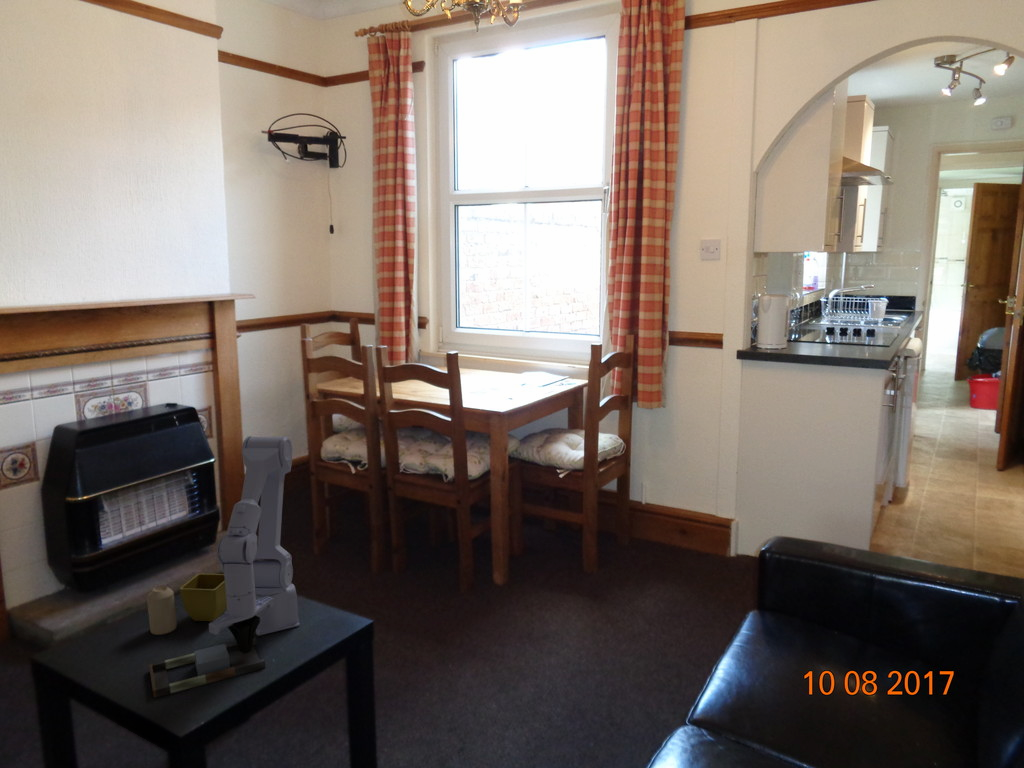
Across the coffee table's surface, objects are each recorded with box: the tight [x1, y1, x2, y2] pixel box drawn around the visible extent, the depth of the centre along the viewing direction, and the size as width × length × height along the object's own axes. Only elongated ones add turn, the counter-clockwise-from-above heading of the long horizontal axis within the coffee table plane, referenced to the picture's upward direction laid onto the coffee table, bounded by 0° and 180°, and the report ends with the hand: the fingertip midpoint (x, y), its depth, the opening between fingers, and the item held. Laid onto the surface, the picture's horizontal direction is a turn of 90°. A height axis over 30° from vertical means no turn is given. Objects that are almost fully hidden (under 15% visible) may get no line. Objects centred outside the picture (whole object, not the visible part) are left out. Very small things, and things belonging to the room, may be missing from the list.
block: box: [193, 643, 231, 676], centre depth 153 cm, size 6×6×4 cm
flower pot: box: [179, 573, 227, 622], centre depth 175 cm, size 9×9×9 cm
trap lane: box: [148, 637, 266, 699], centre depth 153 cm, size 21×11×2 cm, turn 119°
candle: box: [146, 585, 178, 636], centre depth 169 cm, size 6×6×10 cm
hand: (245, 651), depth 156 cm, fingers closed
